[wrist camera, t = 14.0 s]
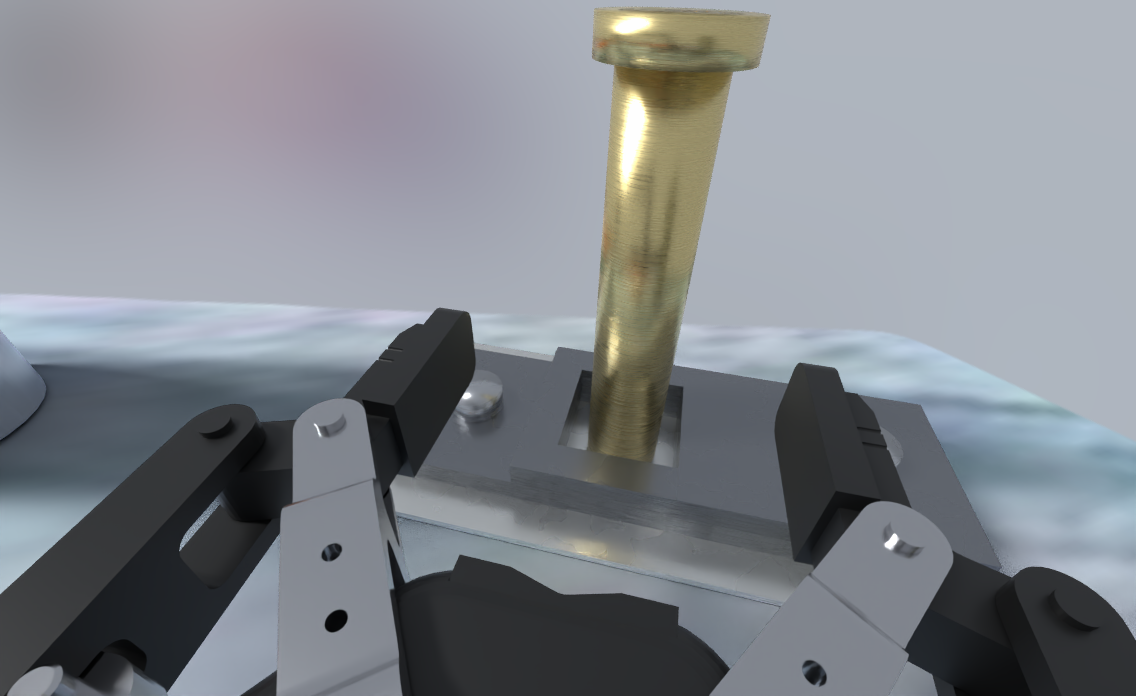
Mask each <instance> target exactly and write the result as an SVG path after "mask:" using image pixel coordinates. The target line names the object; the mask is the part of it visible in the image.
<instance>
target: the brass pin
mask: <svg viewBox="0 0 1136 696" xmlns="http://www.w3.org/2000/svg"><path fill="white" fill-rule="evenodd" d="M770 16H771V15H769V14H763V13H755V12H744V11H731V10H715V9H694V8H669V7H668V8H666V7H603V8H595V9H594V25H593V48H592V58H593V59H594V60H596V61H599V62H602V63H606V64H611V65H614V78H613V91H612V106H611V119H610V135H609V148H608V162H607V176H606V190H605V204H604V218H603V232H602V233H603V234H602V247H601V261H600V275H599V288H598V303H597V317H596V331H595V345H594V359H593V373H592V387H591V401H590V415H589V429H588V443H587V446H588V451H592V452H597V453H602V454H607V455H613V456H618V457H623V458H628V459H633V460H638V461H643V462H648V463H651V462H652V460H653V459H654V455H655V451H656V446H657V441H658V436H659V431H660V426H661V421H662V417H663V412H664V407H665V402H666V397H667V392H668V387H669V382H670V377H671V372H672V368H673V363H674V358H675V353H676V348H677V343H678V338H679V333H680V328H681V324H682V319H683V314H684V309H685V304H686V299H687V294H688V289H689V284H690V279H691V275H692V269H693V265H694V260H695V255H696V250H697V245H698V240H699V235H700V231H701V225H702V221H703V216H704V211H705V206H706V201H707V196H708V191H709V187H710V182H711V177H712V172H713V167H714V162H715V157H716V152H717V147H718V142H719V137H720V133H721V128H722V123H723V118H724V112H725V108H726V103H727V98H728V93H729V89H730V83H731V79H732V74H733V72H734V71H744V70H750V69H754V68H757V67H758V66H759V64H760V60H761V55H762V51H763V47H764V42H765V38H766V34H767V29H768V25H769V21H770Z"/></svg>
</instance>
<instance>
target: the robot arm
mask: <svg viewBox="0 0 1136 696" xmlns="http://www.w3.org/2000/svg"><path fill="white" fill-rule="evenodd" d="M475 366H476V357H475V348H474V340H473V332H472V324H471V318H470V315H469V313H468V312H465V311H459V310H452V309H445V308H438V309H436V310H435V311H434V313H433V314H432V315H431V316H430V317H429V319H428V320H427V321H426V322H425V323H424V325H423V324H415V325H414V326H412V327H410V328H409V329H407V330H405V331H403V332H402V333H400V334H399V335H398V336H397V337H396V338H395V340H394V341H393V342H392V343H391V344H390V345H389V346H388V350H387V349H386V350H385V351H384V352H383V353H382V354H381V356H380V357H379V360H376V361H375V362H374V364H373V365H372V366H371V367H370V368H369V369H368V370H367V372H366V373H365V374H364V375H363V376H362V377H361V378H360V380H359V381H358V382H357V383H356V384H355V385H354V386H353V388H352V389H351V390H350V391H349V392H348V393H347V394H346V396H345V397H344V398H338V399H331V400H327V401H323V402H321V403H318V404H316V405H314V406H312V407H310V408H309V409H308V410H306V411H305V412H304V413H303V414H301V416H300V417H299V418H298V419H297V420H287V421H273V422H260V421H259V419H258V417H257V416H256V414H255V412H254V411H253V409H251V408H250V407H248V406H245V405H240V404H230V405H223V406H219V407H216V408H213V409H210V410H208V411H205V412H203V413H201V414H200V415H198V416H196V417H195V418H193V419H192V420H190V421H189V422H188V423H187V424H186V425H185V426H184V427H182V428H181V429H180V430H179V431H178V432H177V433H176V434H175V435H174V436H173V437H172V438H170V439H169V440H168V441H167V442H166V443H165V444H164V445H163V446H162V447H161V448H160V449H158V450H157V451H156V452H155V453H154V454H153V455H152V456H151V457H150V458H149V459H148V460H146V461H145V462H144V463H143V464H142V465H141V466H140V467H139V468H138V469H137V470H136V471H134V472H133V473H132V474H131V475H130V476H129V477H128V478H127V479H126V480H125V481H124V482H122V483H121V484H120V485H119V486H118V487H117V488H116V489H115V490H114V491H113V492H112V493H110V494H109V495H108V496H107V497H106V498H105V499H104V500H103V501H102V502H101V503H100V504H98V505H97V506H96V507H95V508H94V509H93V510H92V511H91V512H90V513H89V514H88V515H86V516H85V517H84V518H83V519H82V520H81V521H80V522H79V523H78V524H77V525H76V526H74V527H73V528H72V529H71V530H70V531H69V532H68V533H67V534H66V535H65V536H64V537H62V538H61V539H60V540H59V541H58V542H57V543H56V544H55V545H54V546H53V547H52V548H50V549H49V550H48V551H47V552H46V553H45V554H44V555H43V556H42V557H41V558H40V559H38V560H37V561H36V562H35V563H34V564H33V565H32V566H31V567H30V568H29V569H28V570H26V571H25V572H24V573H23V574H22V575H21V576H20V577H19V578H18V579H17V580H16V581H14V582H13V583H12V584H11V585H10V586H9V587H8V588H7V589H6V590H5V591H4V592H2V593H1V594H0V696H168V695H167V692H168V691H169V689H170V688H171V686H172V685H173V684H174V682H175V681H176V679H177V678H178V676H179V675H180V674H181V672H182V671H183V669H184V668H185V667H186V665H187V664H188V662H189V661H190V659H191V658H192V657H193V655H194V654H195V652H196V651H197V650H198V648H199V647H200V645H201V644H202V642H203V641H204V640H205V638H206V637H207V635H208V634H209V632H210V631H211V630H212V628H213V627H214V625H215V624H216V623H217V621H218V620H219V618H220V617H221V615H222V614H223V613H224V611H225V610H226V608H227V607H228V606H229V604H230V603H231V601H232V600H233V598H234V597H235V596H236V594H237V593H238V591H239V590H240V589H241V587H242V586H243V584H244V583H245V581H246V580H247V579H248V577H249V576H250V574H251V573H252V572H253V570H254V569H255V567H256V566H257V564H258V563H259V562H260V560H261V559H262V557H263V556H264V555H265V553H266V552H267V550H268V549H269V547H270V546H271V545H272V543H273V542H274V540H275V539H276V537H277V536H278V535H279V533H280V567H279V609H278V652H277V670H276V671H275V672H274V673H272V674H271V675H269V676H268V677H266V678H265V679H263V680H262V681H261V682H259V683H258V684H256V685H255V686H253V687H252V688H251V689H249V690H248V691H246V692H245V693H243V694H242V695H240V696H888V695H889V693H890V691H891V690H892V688H893V686H894V684H895V682H896V681H897V679H898V677H899V675H900V673H901V672H902V670H903V668H904V666H905V664H906V662H907V661H909V662H911V663H912V664H914V665H916V666H918V667H920V668H922V669H923V670H925V671H927V672H929V673H931V674H932V675H933V679H934V683H935V686H936V690H937V694H938V696H1136V640H1135V638H1134V637H1133V635H1132V633H1131V632H1130V630H1129V628H1128V627H1127V625H1126V624H1125V622H1124V621H1123V619H1122V618H1121V616H1120V615H1119V614H1118V613H1117V612H1116V611H1115V609H1114V608H1113V607H1112V606H1111V605H1110V604H1109V603H1108V602H1107V601H1106V600H1104V599H1103V598H1102V597H1101V596H1100V595H1098V594H1097V593H1096V592H1095V591H1093V590H1092V589H1090V588H1089V587H1088V586H1086V585H1084V584H1083V583H1081V582H1080V581H1078V580H1076V579H1074V578H1072V577H1070V576H1068V575H1066V574H1064V573H1061V572H1059V571H1056V570H1052V569H1049V568H1044V567H1028V568H1025V569H1022V570H1021V571H1020V572H1018V573H1017V574H1016V575H1015V576H1014V577H1012V578H1011V577H1009V576H1007V575H1005V574H1002V573H1000V572H998V571H996V570H993V569H991V568H989V567H987V566H984V565H982V564H980V563H978V562H975V561H973V560H971V559H969V558H966V557H964V556H962V555H960V554H958V553H956V552H955V551H953V550H952V549H951V546H950V544H949V542H948V540H947V539H946V537H945V536H944V534H943V533H942V532H941V530H940V529H939V528H938V527H937V526H936V525H935V524H934V523H932V522H931V521H930V520H929V519H928V518H926V517H925V516H923V515H922V514H920V513H919V512H917V511H915V510H913V509H912V508H911V505H910V503H909V500H908V497H907V495H906V492H905V490H904V487H903V485H902V482H901V480H900V477H899V475H898V472H897V469H896V467H895V464H894V462H893V459H892V457H891V454H890V452H889V450H887V444H886V441H885V439H884V436H883V434H881V429H880V426H879V424H878V421H877V419H876V416H875V413H874V411H873V410H872V409H871V408H870V407H869V406H868V405H867V404H866V403H865V402H864V401H863V399H862V398H861V397H860V396H859V395H858V394H855V393H849V392H845V391H844V388H843V385H842V383H841V380H840V377H839V374H838V371H837V370H836V369H835V368H832V367H826V366H819V365H812V364H806V363H798V364H797V366H796V367H795V369H794V371H793V374H792V376H791V379H790V381H789V384H788V386H787V389H786V391H785V393H784V396H783V398H782V401H781V403H780V406H779V408H778V411H777V414H776V419H775V428H774V434H775V442H776V448H777V455H778V461H779V468H780V474H781V481H782V487H783V494H784V501H785V507H786V514H787V520H788V527H789V533H790V540H791V546H792V553H793V559H794V561H795V562H800V563H804V564H809V565H813V567H814V571H813V572H812V573H809V574H808V575H807V576H806V577H805V578H804V580H803V581H802V582H801V583H800V584H799V586H798V587H797V588H796V589H795V591H794V592H793V593H792V594H791V596H790V597H789V598H788V599H787V600H786V602H785V603H784V604H783V605H782V607H781V608H780V609H779V610H778V611H777V613H776V614H775V615H774V616H773V618H772V619H771V620H770V621H769V623H768V624H767V625H766V626H765V627H764V629H763V630H762V631H761V632H760V634H759V635H758V636H757V637H756V638H755V640H754V641H753V642H752V643H751V645H750V646H749V647H748V648H747V650H746V651H745V652H744V653H743V654H742V656H741V657H740V658H739V659H738V661H737V662H736V663H735V664H734V665H733V667H732V668H731V669H729V667H728V666H727V665H726V663H725V662H724V661H723V660H722V659H721V658H720V657H719V656H718V655H717V654H716V653H715V652H714V650H712V649H711V648H710V647H709V646H708V645H707V644H706V643H704V642H703V641H702V640H701V639H700V638H698V637H697V636H695V635H694V634H692V633H691V632H690V631H688V630H687V629H685V628H683V627H681V626H679V625H678V610H679V607H677V606H672V605H668V604H664V603H660V602H656V601H652V600H647V599H643V598H639V597H635V596H631V595H626V594H622V593H616V594H579V595H563V594H560V593H557V592H555V591H553V590H552V589H550V588H548V587H546V586H544V585H543V584H541V583H539V582H537V581H535V580H534V579H532V578H530V577H528V576H526V575H524V574H523V573H521V572H519V571H517V570H515V569H514V568H512V567H509V566H505V565H501V564H497V563H493V562H489V561H484V560H480V559H476V558H472V557H468V556H464V555H459V558H458V560H457V562H456V565H455V567H454V569H453V571H443V572H437V573H432V574H429V575H425V576H422V577H419V578H416V579H414V580H411V581H410V577H409V574H408V570H407V566H406V562H405V558H404V553H403V548H402V543H401V537H400V532H399V527H398V522H397V516H396V511H395V506H394V500H393V495H392V491H391V488H390V485H391V483H392V482H393V480H394V479H395V477H396V475H397V474H398V475H403V476H407V477H412V478H415V476H416V474H417V473H418V471H419V469H420V468H421V466H422V464H423V462H424V461H425V459H426V457H427V456H428V454H429V452H430V451H431V449H432V447H433V445H434V444H435V442H436V440H437V439H438V437H439V435H440V434H441V432H442V430H443V428H444V427H445V425H446V423H447V422H448V420H449V418H450V417H451V415H452V413H453V412H454V410H455V408H456V406H457V405H458V403H459V401H460V400H461V398H462V396H463V395H464V393H465V391H466V389H467V388H468V386H469V384H470V383H471V381H472V378H473V376H474V372H475ZM45 393H46V385H45V382H44V380H43V379H42V378H41V376H40V375H39V374H38V373H37V372H36V371H35V370H34V368H33V367H32V366H31V365H30V364H29V363H28V361H27V360H26V359H25V358H24V357H23V356H22V355H21V353H20V352H19V351H18V350H17V349H16V348H15V346H14V345H13V344H12V343H11V342H10V341H9V340H8V338H7V337H6V336H5V335H4V334H3V333H2V331H1V330H0V440H1V439H2V438H4V437H6V436H7V435H9V434H10V433H11V432H13V431H14V430H15V429H16V428H18V427H19V426H20V425H21V424H23V423H24V422H25V421H26V420H27V419H28V418H29V417H30V416H31V415H32V414H33V413H34V412H35V411H36V410H37V409H38V407H39V405H40V404H41V402H42V401H43V399H44V397H45ZM215 499H217V500H218V502H219V503H220V505H219V506H218V507H217V508H216V510H215V511H214V512H213V513H212V514H211V515H210V517H209V518H208V519H207V520H206V521H205V522H204V524H203V525H202V526H201V527H200V528H199V529H198V531H197V532H196V533H195V534H194V535H193V536H192V538H191V539H190V540H189V541H188V542H187V543H186V545H185V546H184V547H183V548H182V549H181V550H180V552H179V548H180V544H181V541H182V539H183V537H184V535H185V533H186V532H187V531H188V529H189V528H190V527H191V526H192V525H193V524H194V523H195V521H196V520H197V519H198V518H199V517H200V516H201V515H202V513H203V512H204V511H205V510H206V509H207V508H208V507H209V505H210V504H211V503H212V502H213V501H214V500H215Z"/></svg>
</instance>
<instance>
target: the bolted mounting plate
mask: <svg viewBox="0 0 1136 696" xmlns="http://www.w3.org/2000/svg"><path fill="white" fill-rule="evenodd" d="M474 348H475V357H476V366H475V372H474V376H473V378H472V381H471V383H470V384H469V386H468V388H467V389H466V391H465V393H464V395H463V396H462V398H461V400H460V401H459V403H458V405H457V406H456V408H455V410H454V412H453V413H452V415H451V417H450V418H449V420H448V422H447V423H446V425H445V427H444V428H443V430H442V432H441V434H440V435H439V437H438V439H437V440H436V442H435V444H434V445H433V447H432V449H431V451H430V452H429V454H428V456H427V457H426V459H425V461H424V462H423V464H422V466H421V468H420V469H419V471H418V473H417V474H416V476H415V478H412V477H407V476H403V475H398V474H397V475H396V477H395V479H394V480H393V482H392V483H391V485H390V488H391V491H392V495H393V500H394V506H395V511H396V516H398V517H402V518H407V519H411V520H415V521H419V522H424V523H428V524H432V525H436V526H441V527H445V528H449V529H453V530H458V531H462V532H466V533H471V534H475V535H479V536H483V537H488V538H492V539H496V540H500V541H505V542H509V543H513V544H517V545H522V546H526V547H530V548H534V549H539V550H543V551H547V552H551V553H556V554H560V555H564V556H569V557H573V558H577V559H581V560H586V561H590V562H594V563H598V564H603V565H607V566H611V567H615V568H620V569H624V570H628V571H632V572H637V573H641V574H645V575H649V576H654V577H658V578H662V579H667V580H671V581H675V582H679V583H684V584H688V585H692V586H696V587H701V588H705V589H709V590H713V591H718V592H722V593H726V594H730V595H735V596H739V597H743V598H747V599H752V600H756V601H760V602H765V603H769V604H773V605H777V606H782V605H783V604H784V603H785V602H786V600H787V599H788V598H789V597H790V596H791V594H792V593H793V592H794V591H795V589H796V588H797V587H798V586H799V584H800V583H801V582H802V581H803V580H804V578H805V577H806V576H807V575H808V574H809V573H812V572H813V571H814V567H813V565H809V564H804V563H800V562H795V561H794V559H793V553H792V546H791V540H790V533H789V527H788V520H787V514H786V507H785V501H784V494H783V487H782V481H781V474H780V468H779V461H778V455H777V448H776V442H775V434H774V428H775V419H776V414H777V411H778V408H779V406H780V403H781V401H782V398H783V396H784V393H785V391H786V389H787V386H788V384H787V383H781V382H774V381H768V380H762V379H756V378H749V377H743V376H737V375H731V374H724V373H718V372H712V371H706V370H700V369H693V368H687V367H681V366H675V365H673V368H672V372H671V377H670V382H669V387H668V392H667V397H666V402H665V407H664V412H663V417H662V421H661V426H660V431H659V436H658V441H657V446H656V451H655V455H654V459H653V460H652V462H651V463H648V462H643V461H638V460H633V459H628V458H623V457H618V456H613V455H607V454H602V453H597V452H592V451H588V446H587V443H588V429H589V415H590V401H591V387H592V373H593V359H594V352H587V351H581V350H575V349H569V348H562V347H558V348H557V351H556V353H555V356H551V355H545V354H539V353H533V352H527V351H521V350H515V349H509V348H503V347H496V346H490V345H484V344H478V343H474ZM859 396H860V397H861V398H862V399H863V401H864V402H865V403H866V404H867V405H868V406H869V407H870V408H871V409H872V410H873V411H874V413H875V416H876V419H877V421H878V424H879V426H880V429H881V434H883V436H884V439H885V441H886V444H887V450H889V452H890V454H891V457H892V459H893V462H894V464H895V467H896V469H897V472H898V475H899V477H900V480H901V482H902V485H903V487H904V490H905V492H906V495H907V497H908V500H909V503H910V505H911V508H912V509H913V510H915V511H917V512H919V513H920V514H922V515H923V516H925V517H926V518H928V519H929V520H930V521H931V522H932V523H934V524H935V525H936V526H937V527H938V528H939V529H940V530H941V532H942V533H943V534H944V536H945V537H946V539H947V540H948V542H949V544H950V546H951V549H952V550H953V551H955V552H956V553H958V554H960V555H962V556H964V557H966V558H969V559H971V560H973V561H975V562H978V563H980V564H982V565H984V566H987V567H989V568H991V569H993V570H996V571H999V570H1000V569H1001V568H1002V566H1001V564H1000V562H999V560H998V558H997V556H996V554H995V552H994V550H993V548H992V546H991V544H990V542H989V540H988V538H987V536H986V534H985V532H984V530H983V528H982V526H981V524H980V523H979V521H978V519H977V517H976V515H975V513H974V511H973V509H972V507H971V505H970V503H969V501H968V499H967V497H966V495H965V493H964V491H963V489H962V487H961V485H960V483H959V481H958V479H957V477H956V475H955V473H954V471H953V469H952V467H951V465H950V463H949V461H948V459H947V457H946V455H945V453H944V451H943V449H942V447H941V445H940V443H939V441H938V439H937V437H936V435H935V433H934V431H933V429H932V427H931V425H930V423H929V421H928V419H927V417H926V415H925V413H924V411H923V409H922V407H921V405H918V404H911V403H905V402H899V401H893V400H886V399H880V398H874V397H868V396H862V395H859Z"/></svg>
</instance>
